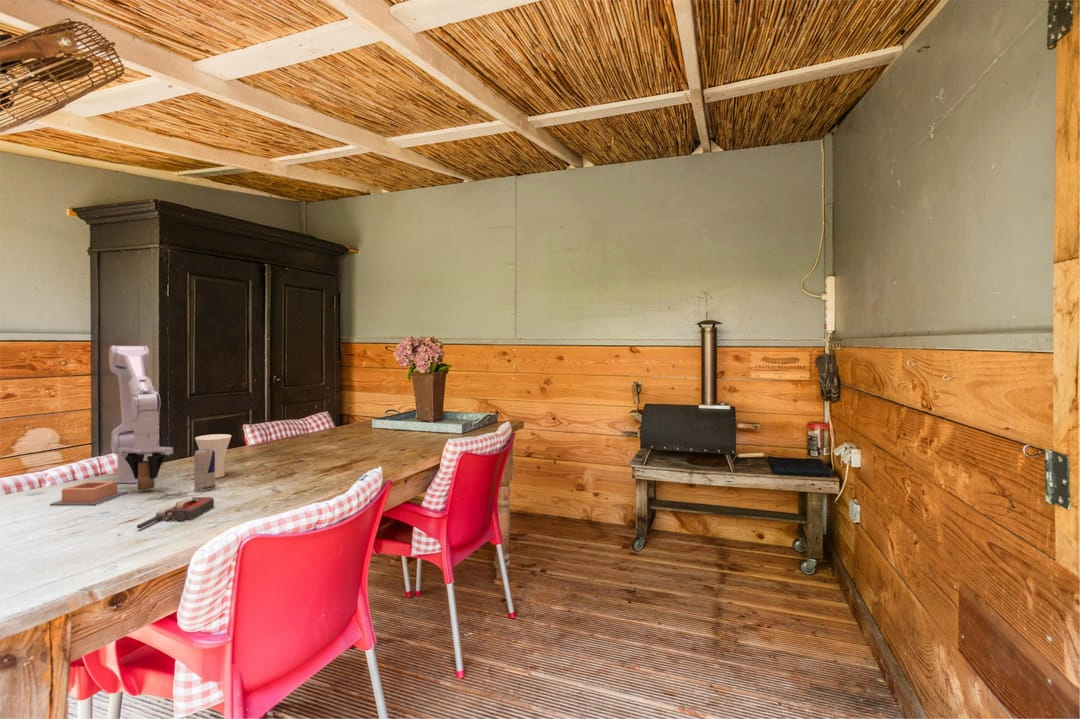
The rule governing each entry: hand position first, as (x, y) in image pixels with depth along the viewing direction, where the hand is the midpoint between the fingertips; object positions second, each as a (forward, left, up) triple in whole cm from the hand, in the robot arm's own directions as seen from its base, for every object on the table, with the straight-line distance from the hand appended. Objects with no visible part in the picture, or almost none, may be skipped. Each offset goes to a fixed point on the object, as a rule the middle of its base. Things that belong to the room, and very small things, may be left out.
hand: (146, 478), depth 158 cm
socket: (+8, -10, -4) cm, 13 cm away
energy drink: (-2, +16, -4) cm, 17 cm away
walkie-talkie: (+25, +24, -5) cm, 35 cm away
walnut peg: (0, 0, -3) cm, 3 cm away
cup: (-18, +10, -4) cm, 21 cm away
